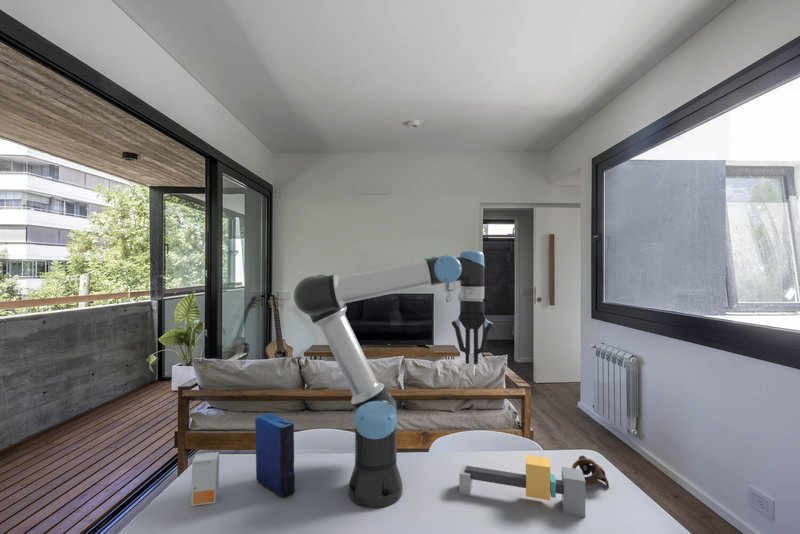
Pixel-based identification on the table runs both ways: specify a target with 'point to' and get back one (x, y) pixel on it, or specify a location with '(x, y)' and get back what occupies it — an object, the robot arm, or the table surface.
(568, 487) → the slider rail
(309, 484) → the table surface
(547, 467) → the sleeve
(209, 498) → the skincare box
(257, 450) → the book
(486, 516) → the table surface
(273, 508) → the table surface
